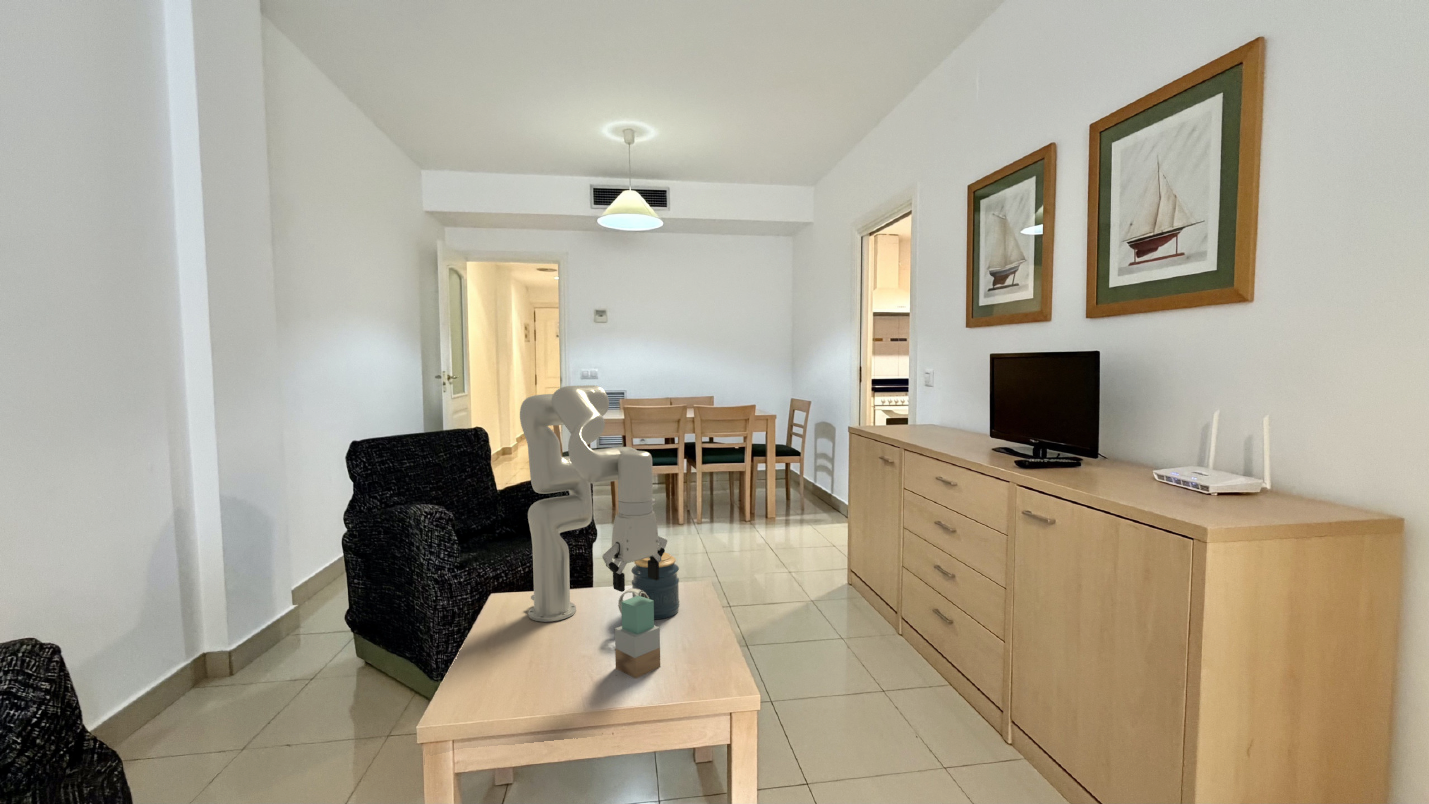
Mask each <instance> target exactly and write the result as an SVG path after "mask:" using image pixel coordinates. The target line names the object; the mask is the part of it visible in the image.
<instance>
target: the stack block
mask: <svg viewBox="0 0 1429 804" xmlns="http://www.w3.org/2000/svg"><path fill="white" fill-rule="evenodd" d="M621 605H622V614H621V626H622V629H624V630H627V631H630V632H632V633H635V634H640V633H642V632H644V631H646V630H649V629H651V628H653V627H654V625H655V619H654V600H651V599H647V598H644V597H641V596H636V597H633V596H632V597H631V598H628V599H626V600H623V601H622V602H621Z"/></svg>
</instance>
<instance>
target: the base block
mask: <svg viewBox="0 0 1429 804" xmlns="http://www.w3.org/2000/svg"><path fill="white" fill-rule="evenodd" d="M614 651H615V652H614V653H615V655H614V656H615V657H614V659H615V669H616V670H618V671H620V672H622V673H624V674H626V675H628V676H630V677H632V678H634V679H638V678H641V677H643V676H644V675H646V674H648V673H651V672H653V671H655V670H657V669H659V668H660V667H661V647H660V648H658V649H655V650H653V651H651V652H648V653H646V654H644V655H641V656H639V657H637V658H634V657H632V656H630V655H628V654H626V653H624V652H622V651H620V650H618V649H616V648H615V649H614Z"/></svg>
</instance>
